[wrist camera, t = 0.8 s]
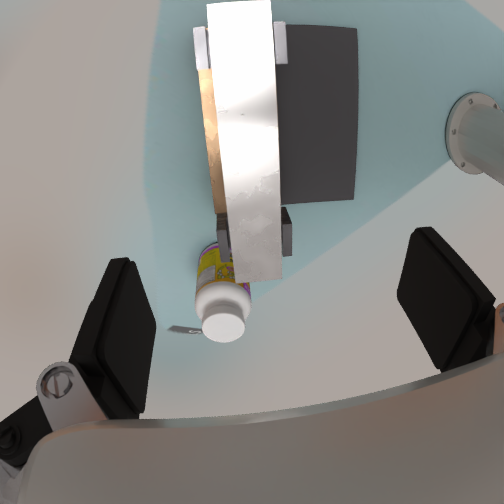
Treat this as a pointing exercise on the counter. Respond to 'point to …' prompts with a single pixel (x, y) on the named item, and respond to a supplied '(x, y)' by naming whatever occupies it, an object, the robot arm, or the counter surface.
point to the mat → (318, 114)
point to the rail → (248, 134)
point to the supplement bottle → (220, 297)
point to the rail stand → (213, 136)
